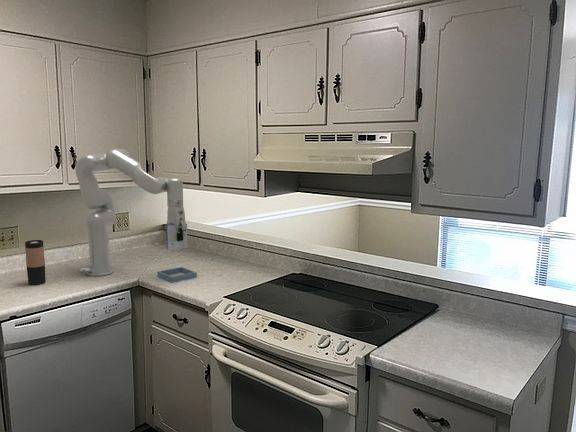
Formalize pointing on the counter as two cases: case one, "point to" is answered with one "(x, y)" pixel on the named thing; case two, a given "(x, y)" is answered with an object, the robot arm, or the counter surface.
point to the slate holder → (188, 275)
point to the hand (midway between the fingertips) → (176, 239)
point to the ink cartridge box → (175, 237)
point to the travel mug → (35, 262)
